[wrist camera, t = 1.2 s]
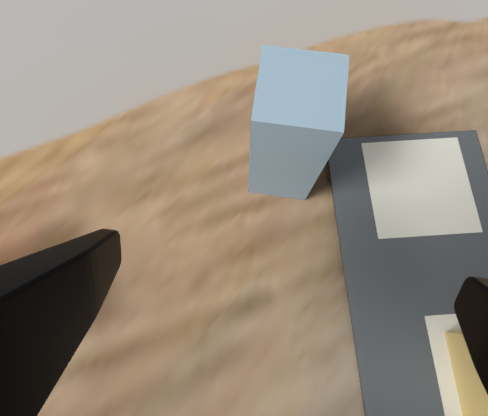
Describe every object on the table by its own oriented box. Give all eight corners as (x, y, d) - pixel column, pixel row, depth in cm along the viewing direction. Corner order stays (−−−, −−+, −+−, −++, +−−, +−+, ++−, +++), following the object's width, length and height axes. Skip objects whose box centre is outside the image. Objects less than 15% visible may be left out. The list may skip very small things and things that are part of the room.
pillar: (304, 199, 23) (344, 132, 14) (248, 192, 24) (250, 120, 14) (310, 148, 25) (349, 54, 15) (255, 140, 25) (262, 44, 16)
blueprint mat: (567, 434, 19) (573, 436, 19) (370, 449, 19) (372, 452, 19) (479, 131, 25) (482, 129, 25) (324, 141, 25) (325, 138, 24)
